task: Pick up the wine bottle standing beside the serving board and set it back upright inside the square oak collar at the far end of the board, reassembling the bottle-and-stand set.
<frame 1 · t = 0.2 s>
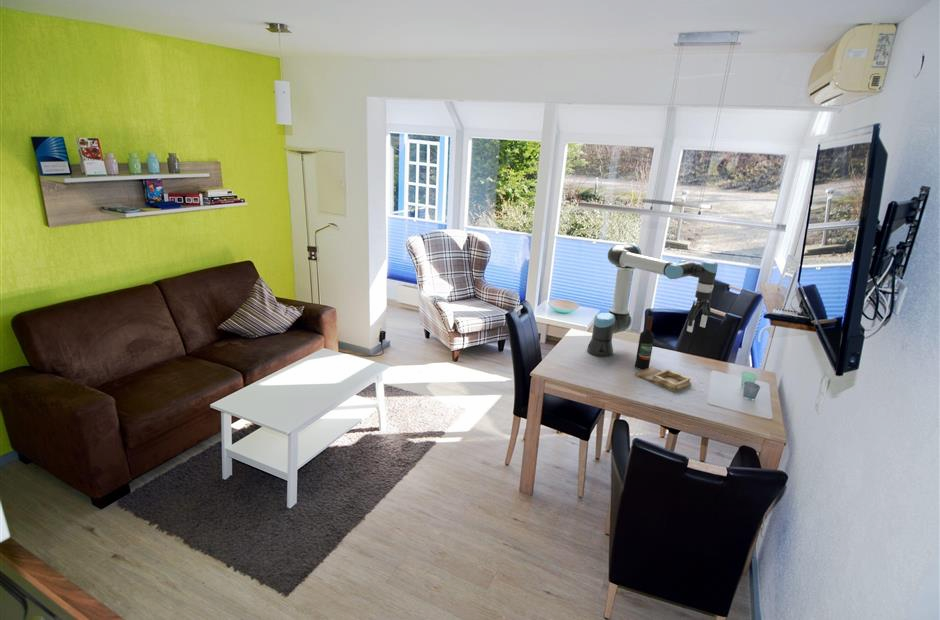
hand: (695, 329, 268), 28 cm above the table, fingers open, 13 cm apart
wine bottle: (641, 367, 287), on the table
board: (662, 379, 272), on the table
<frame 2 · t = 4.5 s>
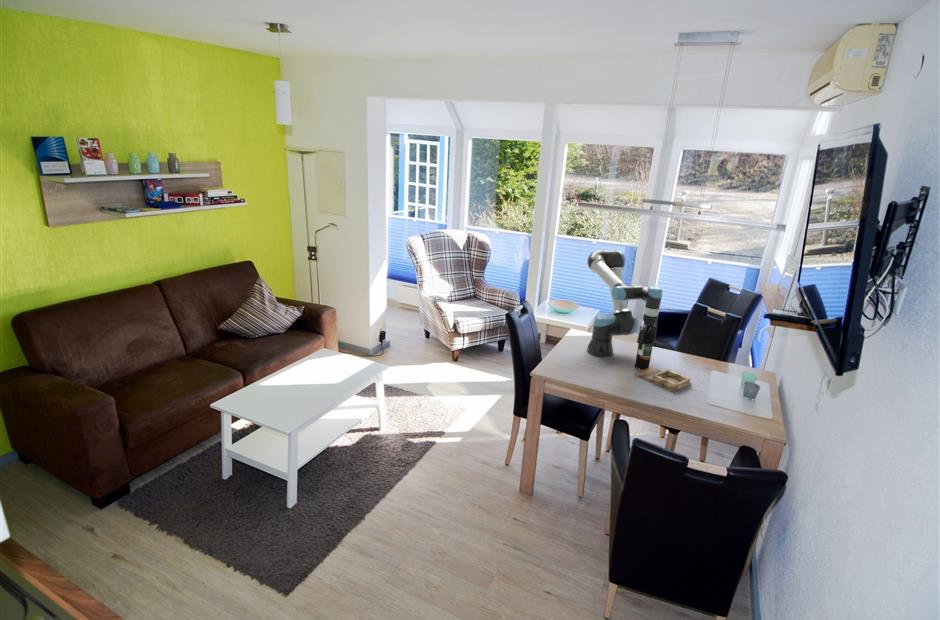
hand: (644, 352, 284), 9 cm above the table, fingers closed on wine bottle, 7 cm apart
wine bottle: (641, 367, 287), on the table, touching gripper
when the fingers open (12 cm above the table, at t = 9.1 s): wine bottle drops 2 cm, resting on board.
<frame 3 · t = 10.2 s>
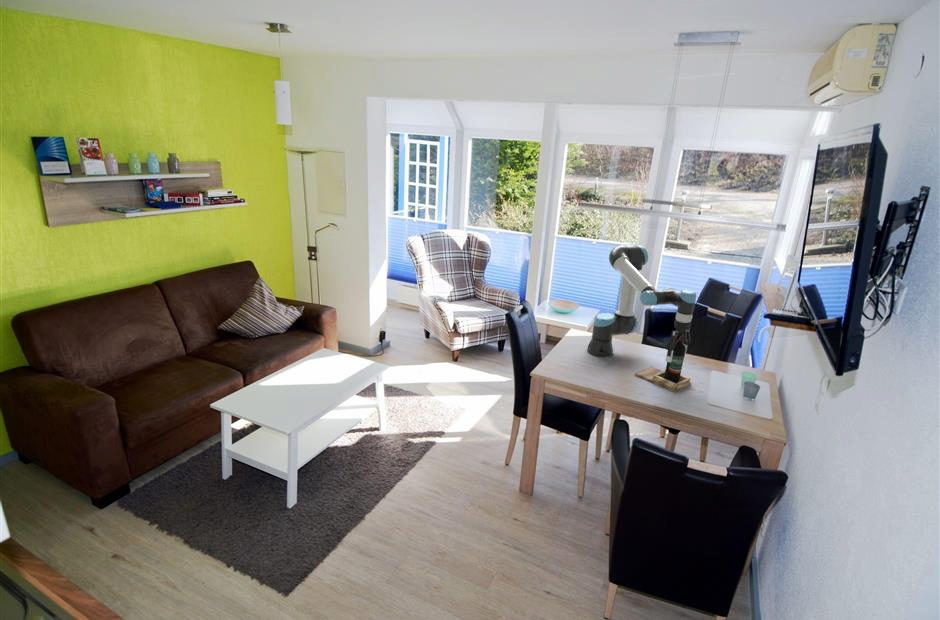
hand: (675, 358, 264), 14 cm above the table, fingers open, 13 cm apart
wine bottle: (671, 381, 268), point 1 cm above the table, touching board
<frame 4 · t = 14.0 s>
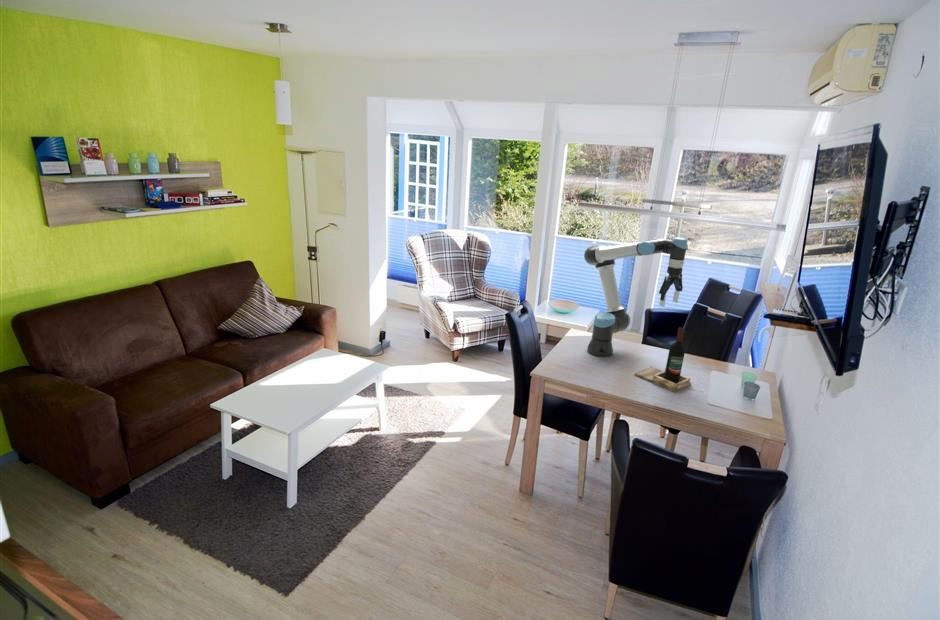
hand: (668, 304, 280), 37 cm above the table, fingers open, 13 cm apart
nothing on the table moved.
at the end: wine bottle 0.1 cm from the target spot on the board, point 1.0 cm above the board's base; wine bottle tilted 0°; the gripper is holding nothing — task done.
